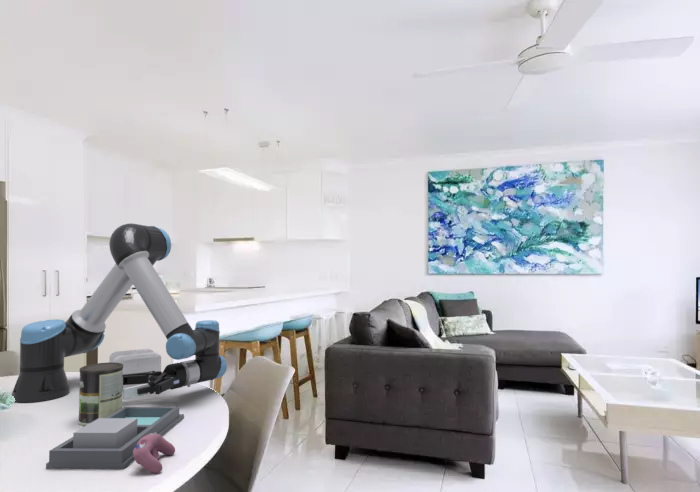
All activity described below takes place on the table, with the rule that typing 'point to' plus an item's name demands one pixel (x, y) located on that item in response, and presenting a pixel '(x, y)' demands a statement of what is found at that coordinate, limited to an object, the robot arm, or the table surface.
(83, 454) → the grey compartment tray
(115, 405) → the coffee can
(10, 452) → the table surface
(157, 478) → the table surface
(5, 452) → the table surface
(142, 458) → the video game controller
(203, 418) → the table surface
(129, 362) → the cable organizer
